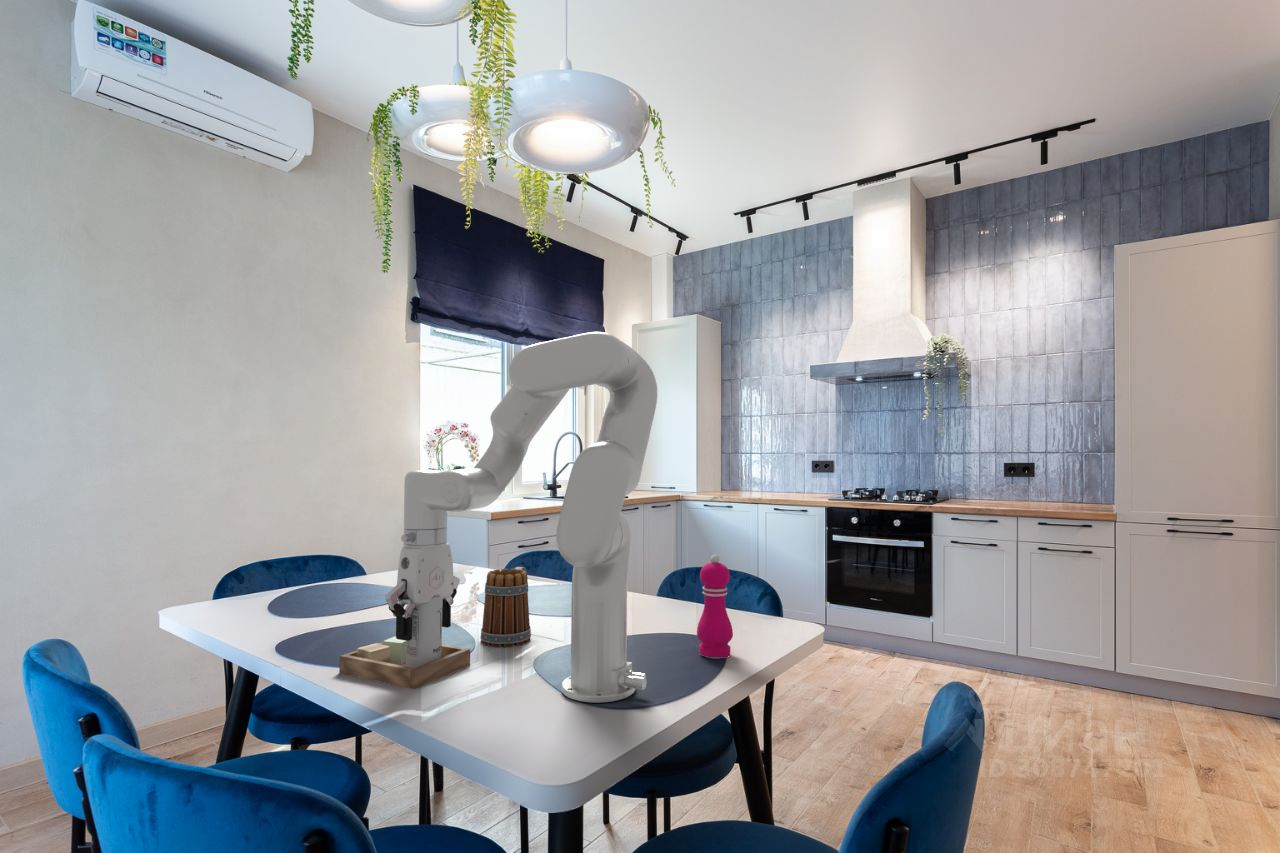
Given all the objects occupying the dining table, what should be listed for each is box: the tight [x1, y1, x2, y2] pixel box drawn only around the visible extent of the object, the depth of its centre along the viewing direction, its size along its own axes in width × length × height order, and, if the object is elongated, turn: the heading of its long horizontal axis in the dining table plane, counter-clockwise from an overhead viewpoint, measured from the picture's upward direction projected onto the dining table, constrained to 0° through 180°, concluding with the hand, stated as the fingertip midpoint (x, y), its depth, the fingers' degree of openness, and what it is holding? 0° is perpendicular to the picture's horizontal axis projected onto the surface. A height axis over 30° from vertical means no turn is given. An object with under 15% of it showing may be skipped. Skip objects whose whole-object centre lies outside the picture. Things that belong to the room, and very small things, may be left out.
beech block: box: [356, 642, 390, 663], centre depth 121 cm, size 4×4×4 cm
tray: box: [338, 641, 471, 690], centre depth 121 cm, size 18×14×4 cm
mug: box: [480, 566, 532, 648], centre depth 143 cm, size 16×11×15 cm
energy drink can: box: [406, 594, 443, 668], centre depth 120 cm, size 6×6×15 cm
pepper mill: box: [696, 554, 734, 658], centre depth 134 cm, size 7×7×20 cm
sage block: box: [382, 635, 407, 665], centre depth 126 cm, size 4×4×4 cm
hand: (424, 632), depth 120 cm, fingers open, 9 cm apart
